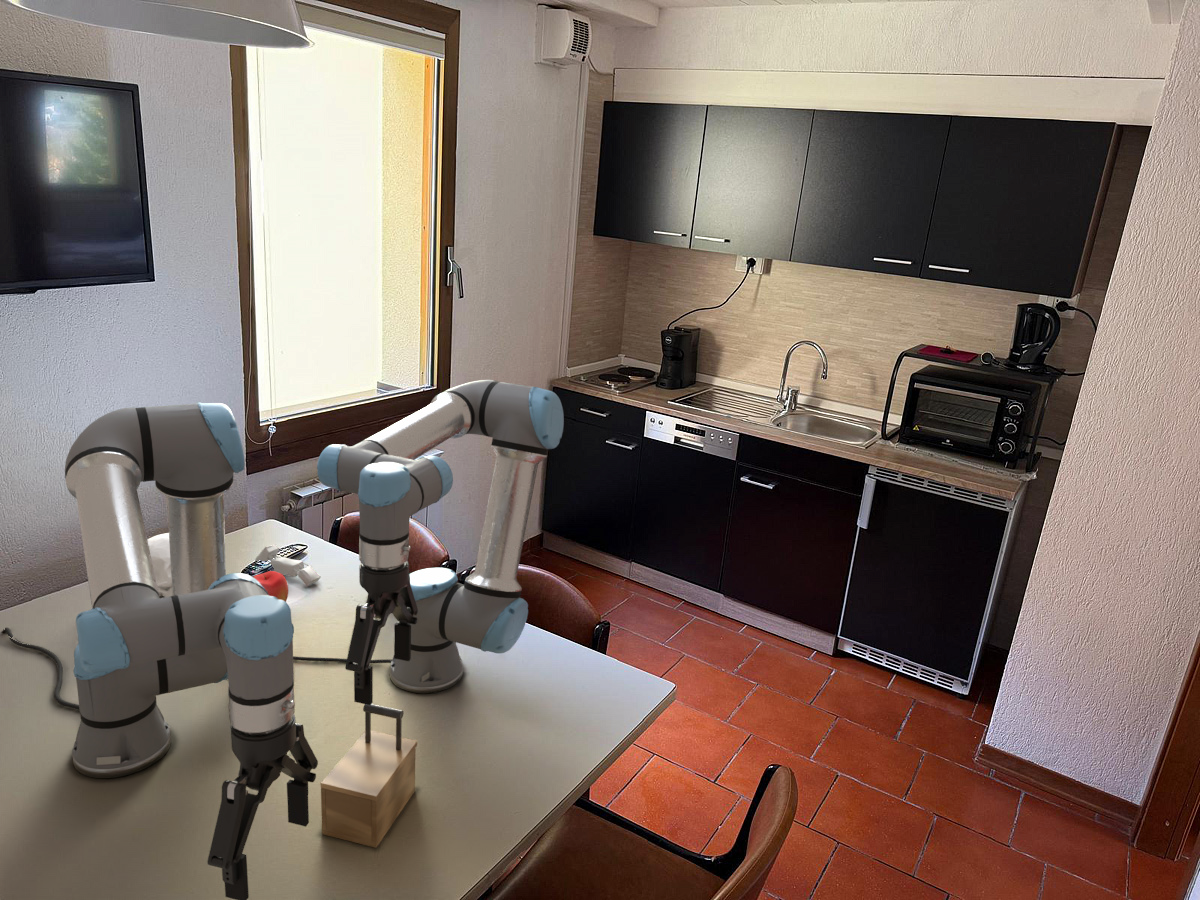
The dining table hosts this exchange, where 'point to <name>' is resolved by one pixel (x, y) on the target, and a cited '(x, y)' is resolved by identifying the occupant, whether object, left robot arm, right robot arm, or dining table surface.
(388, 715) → the lid
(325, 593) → the dining table surface
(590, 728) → the dining table surface
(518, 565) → the right robot arm
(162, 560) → the skull
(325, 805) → the chest
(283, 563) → the white long bent piece
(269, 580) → the apple
